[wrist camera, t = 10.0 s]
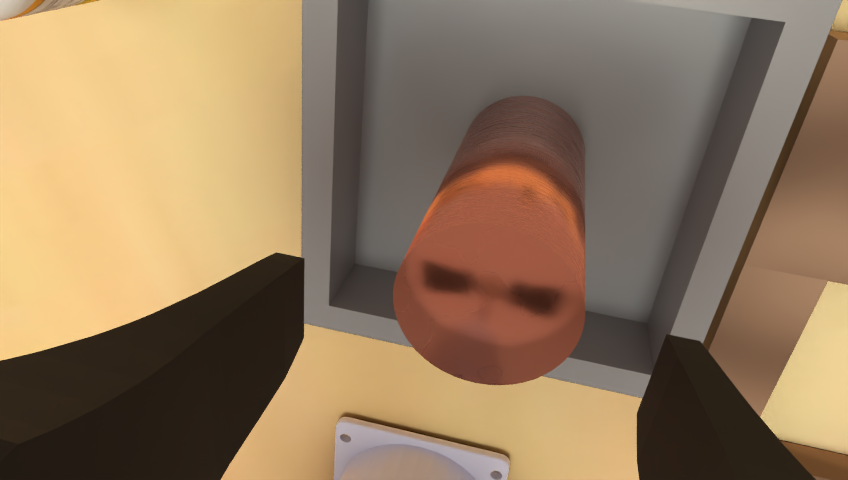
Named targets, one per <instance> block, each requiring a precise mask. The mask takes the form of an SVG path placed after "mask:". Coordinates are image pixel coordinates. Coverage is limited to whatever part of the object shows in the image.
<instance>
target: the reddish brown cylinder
mask: <svg viewBox="0 0 848 480" xmlns="http://www.w3.org/2000/svg"><path fill="white" fill-rule="evenodd" d="M393 305H394V310H395V315H396V318H397V321H398V324H399V326H400V328H401V330H402V332H403V334H404V335H405V337H406V338H407V340H408V341H409V343H410V344H411V345H412V346H413V347H414V349H415V350H416V351H417V352H418V353H419V354H420V355H421V356H423V357H424V358H425V359H426V360H427V361H429V362H430V363H431V364H433V365H434V366H436V367H437V368H439V369H441V370H442V371H444V372H446V373H448V374H451V375H453V376H455V377H458V378H461V379H464V380H467V381H471V382H475V383H481V384H488V385H509V384H516V383H522V382H526V381H530V380H533V379H536V378H538V377H540V376H543V375H545V374H547V373H548V372H550V371H552V370H554V369H555V368H556V367H557V366H559V365H560V364H561V363H563V362H564V361H565V359H566V358H567V357H568V356H569V355H570V354H571V353H572V351H573V350H574V349H575V347H576V345H577V343H578V341H579V339H580V338H581V335H582V331H583V328H584V323H585V145H584V140H583V137H582V134H581V132H580V130H579V127H578V126H577V124H576V123H575V121H574V120H573V119H572V117H571V116H570V115H569V114H568V113H567V112H566V111H564V110H563V109H562V108H561V107H559V106H558V105H556V104H554V103H552V102H550V101H548V100H545V99H542V98H538V97H533V96H514V97H509V98H505V99H502V100H499V101H497V102H495V103H493V104H491V105H489V106H488V107H486V108H485V109H484V110H483V111H481V112H480V113H479V114H478V115H477V117H476V118H475V119H474V120H473V122H472V123H471V125H470V126H469V128H468V130H467V132H466V134H465V136H464V138H463V140H462V142H461V144H460V146H459V148H458V150H457V152H456V154H455V156H454V159H453V161H452V163H451V165H450V167H449V169H448V171H447V173H446V175H445V177H444V179H443V181H442V183H441V185H440V187H439V189H438V191H437V193H436V195H435V197H434V199H433V201H432V203H431V205H430V207H429V209H428V211H427V213H426V215H425V217H424V219H423V221H422V223H421V225H420V227H419V229H418V231H417V233H416V235H415V237H414V239H413V241H412V243H411V245H410V247H409V249H408V252H407V254H406V256H405V258H404V260H403V262H402V264H401V266H400V268H399V270H398V272H397V275H396V279H395V282H394V289H393Z"/></svg>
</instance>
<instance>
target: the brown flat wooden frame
mask: <svg viewBox="0 0 848 480" xmlns="http://www.w3.org/2000/svg"><path fill="white" fill-rule="evenodd" d="M828 281H831V282H837V283H842V284H847V285H848V33H846V32H839V31H832V30H830V32H829V34H828V37H827V39H826V42H825V44H824V47H823V49H822V51H821V54H820V56H819V59H818V61H817V64H816V66H815V69H814V71H813V74H812V76H811V79H810V81H809V83H808V86H807V88H806V91H805V93H804V96H803V98H802V101H801V103H800V106H799V108H798V111H797V113H796V115H795V118H794V120H793V123H792V125H791V128H790V130H789V133H788V135H787V138H786V140H785V143H784V145H783V147H782V150H781V152H780V155H779V157H778V160H777V162H776V165H775V167H774V170H773V172H772V174H771V177H770V179H769V182H768V184H767V187H766V189H765V192H764V194H763V197H762V199H761V202H760V204H759V206H758V209H757V211H756V214H755V216H754V219H753V221H752V224H751V226H750V229H749V231H748V234H747V236H746V238H745V241H744V243H743V246H742V248H741V251H740V253H739V256H738V258H737V261H736V263H735V266H734V268H733V270H732V273H731V275H730V278H729V280H728V283H727V285H726V288H725V290H724V293H723V295H722V298H721V300H720V302H719V305H718V307H717V310H716V312H715V315H714V317H713V320H712V322H711V325H710V327H709V330H708V332H707V334H706V337H705V339H704V342H703V345H704V346H705V348H706V349H707V350H708V351H709V353H710V354H711V355H712V357H713V358H714V359H715V361H716V362H717V363H718V364H719V366H720V367H721V368H722V370H723V371H724V372H725V374H726V375H727V376H728V378H729V379H730V380H731V381H732V383H733V384H734V385H735V387H736V388H737V389H738V390H739V392H740V393H741V394H742V396H743V397H744V398H745V399H746V401H747V402H748V403H749V404H750V406H751V407H752V408H753V409H754V411H755V412H756V413H757V414H758V415H759V417H760V416H761V414H762V412H763V410H764V408H765V406H766V404H767V402H768V400H769V398H770V396H771V394H772V392H773V390H774V388H775V386H776V384H777V382H778V380H779V378H780V376H781V374H782V372H783V370H784V368H785V366H786V364H787V362H788V360H789V358H790V356H791V354H792V352H793V350H794V348H795V346H796V344H797V342H798V340H799V338H800V336H801V334H802V332H803V330H804V328H805V326H806V324H807V322H808V320H809V318H810V316H811V314H812V312H813V310H814V308H815V306H816V304H817V302H818V300H819V298H820V296H821V294H822V292H823V290H824V288H825V286H826V284H827V282H828ZM781 442H782V444H783V445H784V446H785V447H786V448H787V449H788V450H789V451H790V452H791V453H792V455H793V456H794V457H795V458H796V459H797V460H798V461H799V462H800V463H801V464H802V465H803V467H804V468H805V469H806V470H807V471H808V472H809V473H810V474H811V475H812V476H813V477H814V478H815V479H816V480H848V456H847V455H843V454H838V453H834V452H829V451H825V450H820V449H816V448H812V447H807V446H803V445H798V444H794V443H789V442H785V441H781Z"/></svg>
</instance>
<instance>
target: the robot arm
mask: <svg viewBox="0 0 848 480" xmlns="http://www.w3.org/2000/svg"><path fill="white" fill-rule="evenodd" d="M304 266H305V258H300V257H295V256H291V255H286V254H281V253H275V254H272V255H270V256H268V257H266V258H264V259H262V260H260V261H258V262H256V263H254V264H252V265H250V266H249V267H247V268H245V269H243V270H241V271H239V272H237V273H235V274H233V275H232V276H230V277H228V278H226V279H224V280H222V281H220V282H218V283H216V284H214V285H212V286H210V287H208V288H206V289H204V290H202V291H201V292H199V293H197V294H194V295H192V296H190V297H188V298H186V299H184V300H181V301H179V302H177V303H175V304H173V305H170V306H168V307H166V308H164V309H162V310H160V311H157V312H155V313H153V314H151V315H148V316H146V317H143V318H141V319H138V320H136V321H133V322H131V323H128V324H126V325H123V326H120V327H117V328H114V329H112V330H109V331H106V332H103V333H100V334H97V335H94V336H91V337H88V338H85V339H81V340H78V341H74V342H71V343H67V344H64V345H61V346H57V347H54V348H50V349H47V350H43V351H40V352H36V353H32V354H28V355H24V356H19V357H15V358H11V359H7V360H2V361H0V480H221V478H222V476H223V474H224V473H225V471H226V469H227V468H228V466H229V464H230V463H231V461H232V460H233V458H234V457H235V455H236V453H237V452H238V450H239V449H240V447H241V446H242V444H243V443H244V441H245V440H246V438H247V437H248V435H249V433H250V432H251V430H252V429H253V427H254V426H255V424H256V423H257V421H258V420H259V418H260V417H261V415H262V414H263V412H264V410H265V409H266V407H267V406H268V404H269V403H270V401H271V400H272V398H273V396H274V395H275V393H276V392H277V390H278V389H279V387H280V385H281V384H282V382H283V381H284V379H285V377H286V375H287V373H288V371H289V369H290V367H291V365H292V363H293V361H294V358H295V356H296V354H297V352H298V349H299V347H300V345H301V343H302V341H303V338H304ZM345 434H347V435H349V436H347V435H345ZM637 464H638V472H639V480H816V479H815V478H814V477H813V476H812V475H811V474H810V473H809V472H808V471H807V470H806V469H805V468H804V467H803V465H802V464H801V463H800V462H799V461H798V460H797V459H796V458H795V457H794V456H793V455H792V453H791V452H790V451H789V450H788V449H787V448H786V447H785V446H784V445H783V444H782V442H781V441H780V440H779V439H778V438H777V437H776V436H775V434H774V433H773V432H772V431H771V430H770V429H769V427H768V426H767V425H766V424H765V423H764V421H763V420H762V419H761V418H760V417H759V415H758V414H757V413H756V412H755V411H754V409H753V408H752V407H751V406H750V404H749V403H748V402H747V401H746V399H745V398H744V397H743V396H742V394H741V393H740V392H739V390H738V389H737V388H736V387H735V385H734V384H733V383H732V381H731V380H730V379H729V378H728V376H727V375H726V374H725V372H724V371H723V370H722V368H721V367H720V366H719V364H718V363H717V362H716V361H715V359H714V358H713V357H712V355H711V354H710V353H709V351H708V350H707V349H706V348H705V346H704V345H703V344H702V343H701V342H700V341H698V340H693V339H688V338H683V337H679V336H674V335H669V334H666V337H665V339H664V342H663V345H662V347H661V350H660V353H659V355H658V358H657V361H656V364H655V366H654V369H653V372H652V374H651V377H650V380H649V382H648V385H647V388H646V391H645V393H644V396H643V399H642V401H641V404H640V407H639V410H638V412H637ZM509 469H510V460H509V459H508V457H506V456H505V455H503V454H500V453H496V452H492V451H488V450H484V449H480V448H475V447H471V446H467V445H463V444H459V443H455V442H450V441H446V440H442V439H438V438H434V437H430V436H426V435H421V434H417V433H413V432H409V431H405V430H401V429H396V428H392V427H388V426H384V425H380V424H376V423H371V422H367V421H363V420H359V419H355V418H351V417H342V418H340V419H339V420H338V423H337V425H336V433H335V457H334V480H507V477H508V473H509ZM494 471H498V472H494Z"/></svg>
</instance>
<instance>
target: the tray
mask: <svg viewBox="0 0 848 480" xmlns="http://www.w3.org/2000/svg"><path fill="white" fill-rule="evenodd" d="M841 2H842V0H302V258H305V266H304V323H305V324H309V325H314V326H318V327H323V328H327V329H332V330H336V331H341V332H345V333H350V334H354V335H359V336H364V337H368V338H373V339H377V340H382V341H386V342H391V343H395V344H400V345H404V346H409V347H413V346H412V345H411V344H410V343H409V341H408V340H407V338H406V337H405V335H404V334H403V332H402V330H401V328H400V326H399V324H398V321H397V318H396V315H395V310H394V305H393V289H394V282H395V279H396V275H397V272H398V270H399V268H400V266H401V264H402V262H403V260H404V258H405V256H406V254H407V252H408V249H409V247H410V245H411V243H412V241H413V239H414V237H415V235H416V233H417V231H418V229H419V227H420V225H421V223H422V221H423V219H424V217H425V215H426V213H427V211H428V209H429V207H430V205H431V203H432V201H433V199H434V197H435V195H436V193H437V191H438V189H439V187H440V185H441V183H442V181H443V179H444V177H445V175H446V173H447V171H448V169H449V167H450V165H451V163H452V161H453V159H454V156H455V154H456V152H457V150H458V148H459V146H460V144H461V142H462V140H463V138H464V136H465V134H466V132H467V130H468V128H469V126H470V125H471V123H472V122H473V120H474V119H475V118H476V117H477V115H478V114H479V113H480V112H481V111H483V110H484V109H485V108H486V107H488V106H489V105H491V104H493V103H495V102H497V101H499V100H502V99H505V98H509V97H514V96H533V97H538V98H542V99H545V100H548V101H550V102H552V103H554V104H556V105H558V106H559V107H561V108H562V109H563V110H564V111H566V112H567V113H568V114H569V115H570V116H571V117H572V119H573V120H574V121H575V123H576V124H577V126H578V127H579V130H580V132H581V134H582V137H583V140H584V145H585V323H584V328H583V331H582V335H581V338H580V339H579V341H578V343H577V345H576V347H575V349H574V350H573V351H572V353H571V354H570V355H569V356H568V357H567V358H566V359H565V361H564V362H563V363H561V364H560V365H559V366H557V367H556V368H555V369H554V370H552V371H550V372H548V373H547V374H545V375H543V376H544V377H549V378H554V379H558V380H563V381H567V382H572V383H576V384H581V385H585V386H590V387H594V388H599V389H603V390H608V391H612V392H617V393H621V394H626V395H630V396H635V397H639V398H643V396H644V393H645V391H646V388H647V385H648V382H649V380H650V377H651V374H652V372H653V369H654V366H655V364H656V361H657V358H658V355H659V353H660V350H661V347H662V345H663V342H664V339H665V337H666V334H669V335H674V336H679V337H683V338H688V339H693V340H698V341H700V342H701V343H702V344H703V342H704V339H705V337H706V334H707V332H708V330H709V327H710V325H711V322H712V320H713V317H714V315H715V312H716V310H717V307H718V305H719V302H720V300H721V298H722V295H723V293H724V290H725V288H726V285H727V283H728V280H729V278H730V275H731V273H732V270H733V268H734V266H735V263H736V261H737V258H738V256H739V253H740V251H741V248H742V246H743V243H744V241H745V238H746V236H747V234H748V231H749V229H750V226H751V224H752V221H753V219H754V216H755V214H756V211H757V209H758V206H759V204H760V202H761V199H762V197H763V194H764V192H765V189H766V187H767V184H768V182H769V179H770V177H771V174H772V172H773V170H774V167H775V165H776V162H777V160H778V157H779V155H780V152H781V150H782V147H783V145H784V143H785V140H786V138H787V135H788V133H789V130H790V128H791V125H792V123H793V120H794V118H795V115H796V113H797V111H798V108H799V106H800V103H801V101H802V98H803V96H804V93H805V91H806V88H807V86H808V83H809V81H810V79H811V76H812V74H813V71H814V69H815V66H816V64H817V61H818V59H819V56H820V54H821V51H822V49H823V47H824V44H825V42H826V39H827V37H828V34H829V32H830V29H831V27H832V24H833V22H834V19H835V17H836V15H837V12H838V10H839V7H840V5H841ZM413 348H414V347H413Z"/></svg>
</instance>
